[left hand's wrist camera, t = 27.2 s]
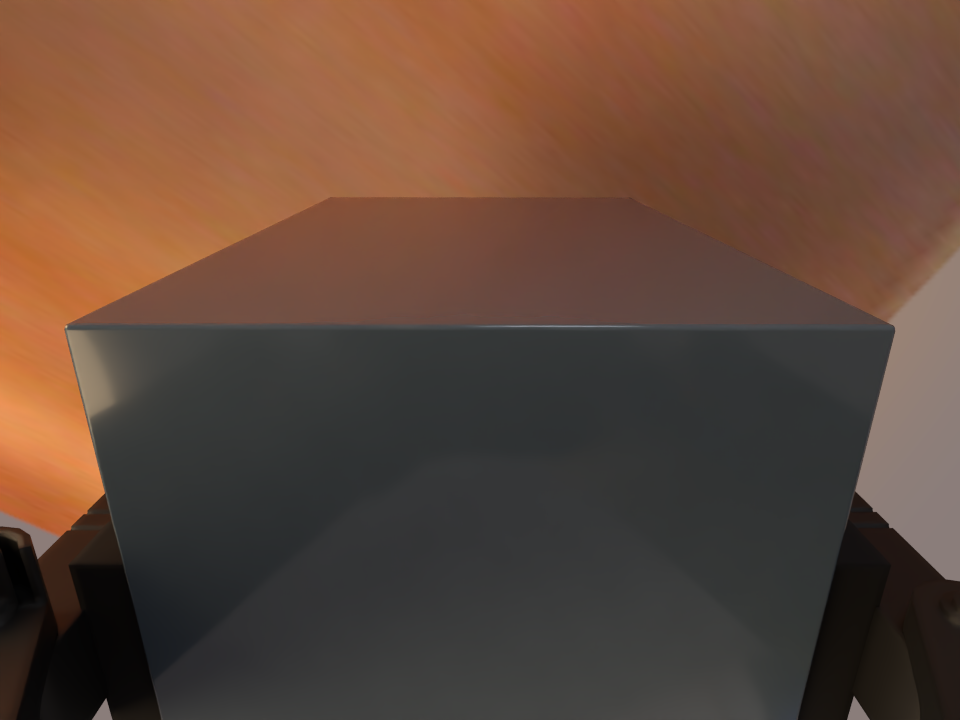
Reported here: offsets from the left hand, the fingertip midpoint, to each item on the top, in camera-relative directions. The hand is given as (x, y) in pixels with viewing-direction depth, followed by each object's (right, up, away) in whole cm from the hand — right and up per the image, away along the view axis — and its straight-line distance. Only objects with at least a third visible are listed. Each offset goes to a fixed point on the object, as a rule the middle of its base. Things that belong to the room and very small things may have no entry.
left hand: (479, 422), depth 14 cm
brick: (0, +2, +5) cm, 5 cm away
